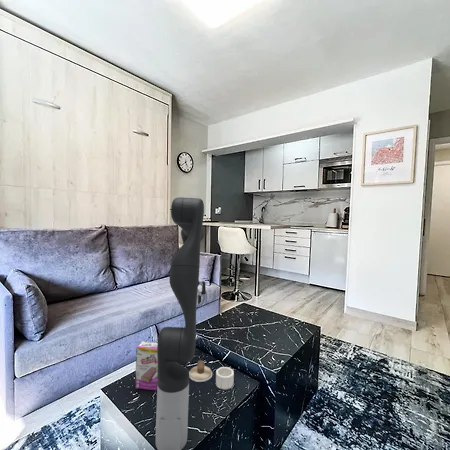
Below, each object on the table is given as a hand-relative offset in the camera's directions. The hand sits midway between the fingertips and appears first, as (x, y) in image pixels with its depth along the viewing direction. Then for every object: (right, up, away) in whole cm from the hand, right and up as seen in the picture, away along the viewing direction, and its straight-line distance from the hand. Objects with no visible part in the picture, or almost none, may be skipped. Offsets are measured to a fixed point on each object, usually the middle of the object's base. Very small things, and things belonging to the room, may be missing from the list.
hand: (189, 303), depth 115 cm
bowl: (+16, -28, -15) cm, 35 cm away
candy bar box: (-13, -27, -19) cm, 35 cm away
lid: (+6, -27, -10) cm, 29 cm away
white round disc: (+6, -27, -10) cm, 29 cm away
